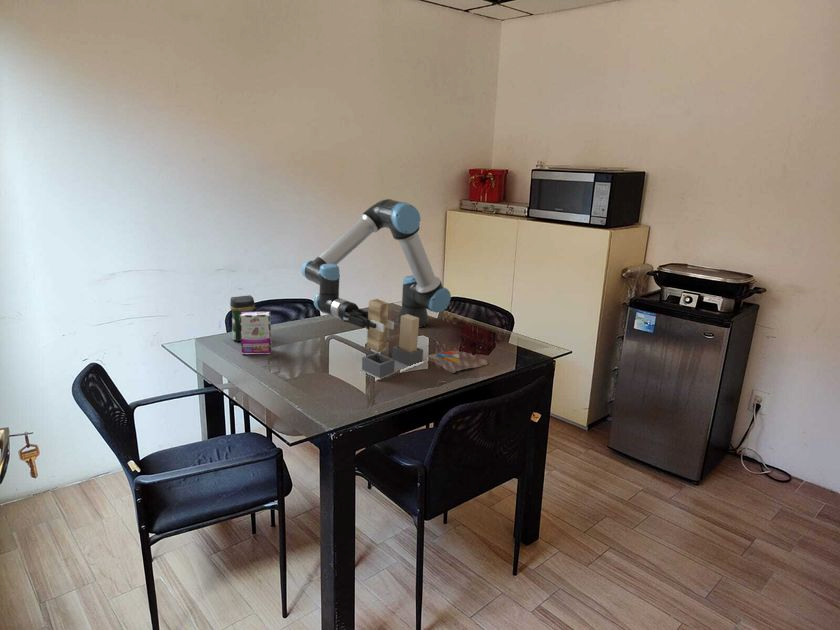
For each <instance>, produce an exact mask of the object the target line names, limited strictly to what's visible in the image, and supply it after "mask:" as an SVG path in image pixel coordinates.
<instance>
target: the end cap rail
mask: <svg viewBox="0 0 840 630" xmlns="http://www.w3.org/2000/svg"><path fill="white" fill-rule="evenodd" d="M418 340H419V318H418V317H415V316H412V315H409V314H406V315H403V316H401V320H400V324H399V339H398V345H395V346H393V347H392V350H391V351H392V354H391V357H388V356H387V355H385V354H382V353H381V352H374V353H371V354H368V355H365V356H362V358H361V369H359V372H360V371H361V372H364V373H367V374H368V375H371V376H373V377H376V378H383V377H385V376H388V375H390V374H393V373H395V372H397V371H398V370H401V369H404V368H406V367H408V366H411V365H413V364H416V363H419V362H422V361H424V360H423V359H424V349H423V348H421V347H418Z"/></svg>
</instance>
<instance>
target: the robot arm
mask: <svg viewBox="0 0 840 630" xmlns="http://www.w3.org/2000/svg"><path fill="white" fill-rule="evenodd" d="M420 222H421V215H420V212H419V210H418V209H417V207H416V206H414V205H412V204H411V203H408V202H405V201H399V200H394V199H389V198H386V199H381V200H379V201H378V202H376V203H375V204H372V206H370V207H369V208H368V209H366V210H365V211H364V212H363V213H362V214H361V215H360V219H359V220H358V221H357V222H355V223H353V225H352V226H350V228H349V229H348V230H346V231H345V232H344V233H343V234H341V236H340V237H338V238H337V240H335V241H334V242H333V243H332V244H330V246H328V247H327V248H326V249H325V250H323V252H322V253H320V255H318V256H317V257H315V258H314V259H313V260H307V261H305V262H304V263H303V264H302V265H301V275H302V276H303V277H304V278H305V279H307V280H308V281H310V282H313V283H314V284H316V285H318V286H319V292H318V293H317V294H316V295H315V296H314V299H313V305H314V308H315V309H316V310H318V311H320V312H322V313H323V314H327V315H330V316H332V317H334V318H337V319H338V320H342V321H343V323H349V324H351V325H353V326H356V327H358V328H359V327H360V328H361V329H363V328H365V327H366V328H365V329H366V330H368V329H369V327H371V328H373V329H376V330H378V331H381V332H384V327H385V325H384V324H382V323H379V322H376V321H374V320H368V310H364V309H361V308H359V305H358V304H356V303H355V302H351V301H348V300H346V299H344V298H340V278H341V275H340V267H339V265H338V264H340V262H341V261H343V260H344V259H345V258H347V257H348V255H349V254H351V253H352V252H353V250H355V249H356V248H358V246H359V245H360V244H362V243H363V242H364V241H365V240H366V239H368V237H369V236H370V235H372V234H374V233H378V231H379V230H382V229H383V228H386V229H389V230H390V233H391V235H392V237H393V239H394V240H395V241H398V242H399V244H400V247H401V249H402V251H403V254H404V257H405V258H406V261H407V263H408V265H409V268H410V271H411V273H412V274H410V275H407V276H406V275H405V276H404V278H403V279H402V280H403V281H402V294H401V295H402V296H401V297H402V298H401V308H400V310H399V313H398V315H397V319H396V322H397V321H398V322H397V324H398V323H400V320H401V316H403V315H406V314H409V315H412V316H415V317H418V318H419V326H424V325H427V324H428V323H429V324H430V318H429V315H428V311H430V312H434V313H441V312H443V311H445V310H446V309H447V308H448V306H449V305H450V302H451V298H452V297H451V296H452V294H451V292H450V290H449V289H448V288H446V287H444V286H443V283H442V281H441V279H440V277H439V276H436V275H435V273H434V271H433V267H432V265H431V262H430V260H429V258H428V254H427V253H426V250H425V248H424V245H423V243H422V240H421V238H420V235H419V231H420V225H421V224H420ZM429 324H428V325H429ZM428 325H427V326H428ZM394 326H395V321H393V320H389V319H388V322H387V329H390V330H394V329H395V328H394Z"/></svg>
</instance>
